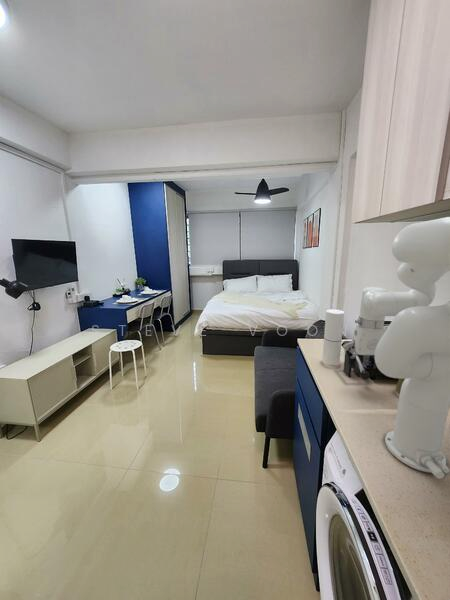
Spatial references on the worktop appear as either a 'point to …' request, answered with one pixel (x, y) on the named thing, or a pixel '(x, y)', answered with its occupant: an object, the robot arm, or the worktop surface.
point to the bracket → (348, 368)
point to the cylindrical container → (333, 336)
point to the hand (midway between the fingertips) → (364, 366)
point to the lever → (362, 369)
